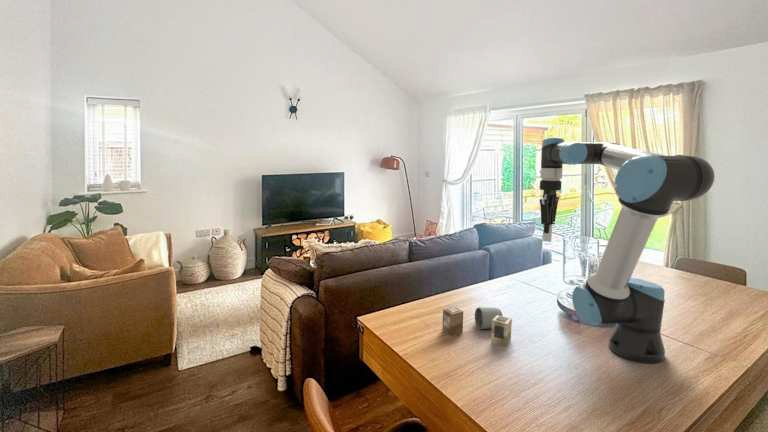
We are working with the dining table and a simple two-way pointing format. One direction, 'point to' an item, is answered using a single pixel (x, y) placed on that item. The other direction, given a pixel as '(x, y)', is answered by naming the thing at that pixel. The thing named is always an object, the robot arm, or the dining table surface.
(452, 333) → the walnut numeral block
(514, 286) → the dining table surface
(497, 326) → the beige framed block
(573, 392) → the dining table surface
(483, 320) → the ceramic mug
